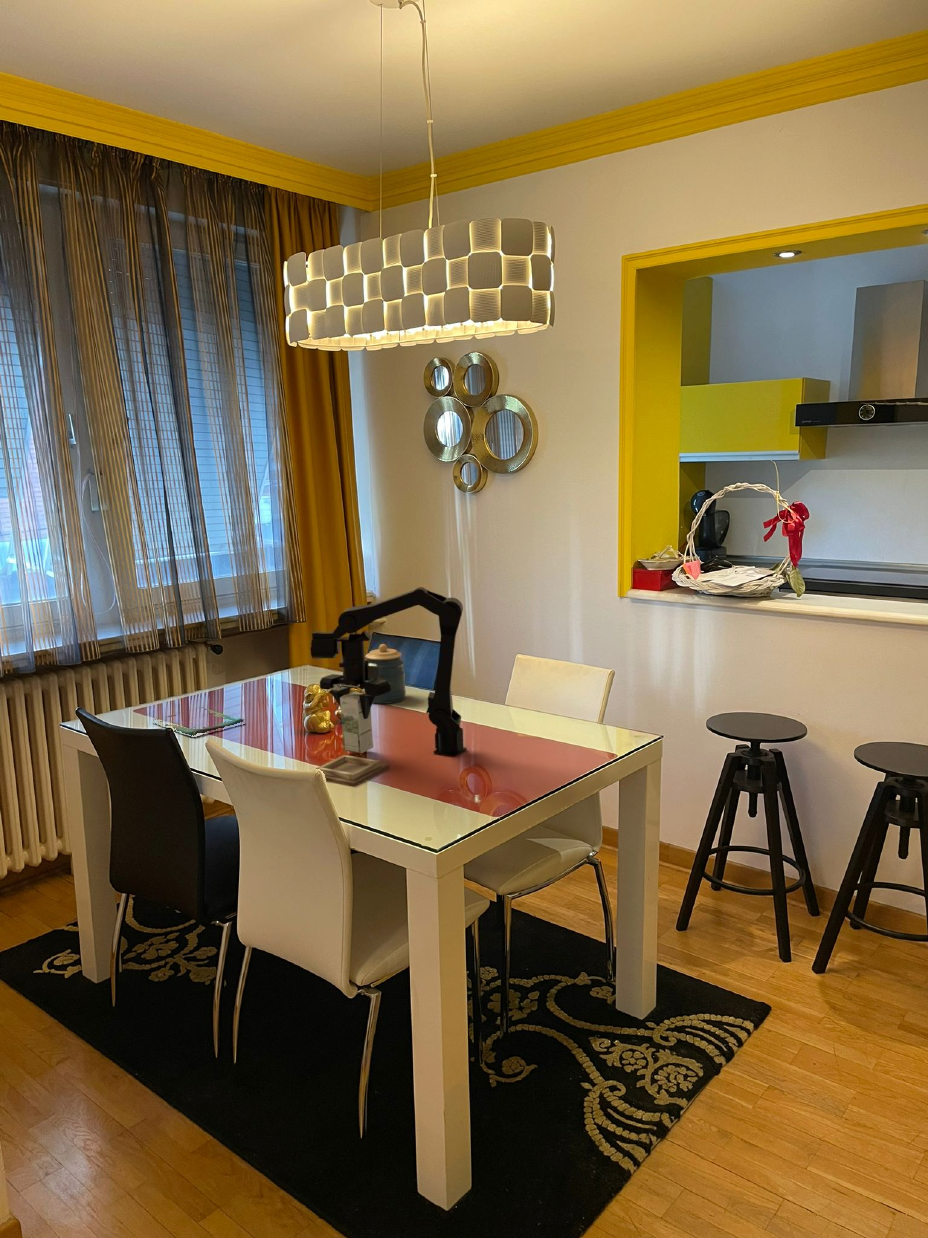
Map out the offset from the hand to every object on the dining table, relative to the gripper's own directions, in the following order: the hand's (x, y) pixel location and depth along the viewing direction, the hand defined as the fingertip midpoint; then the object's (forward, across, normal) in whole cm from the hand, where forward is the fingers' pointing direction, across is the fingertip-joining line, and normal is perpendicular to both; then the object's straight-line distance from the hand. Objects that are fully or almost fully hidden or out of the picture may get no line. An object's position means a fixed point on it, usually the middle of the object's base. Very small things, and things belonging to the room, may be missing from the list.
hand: (356, 717), depth 234 cm
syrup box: (+9, 0, 0) cm, 9 cm away
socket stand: (+10, -7, +13) cm, 18 cm away
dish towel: (+10, +59, -1) cm, 60 cm away
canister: (+10, +25, -47) cm, 54 cm away
